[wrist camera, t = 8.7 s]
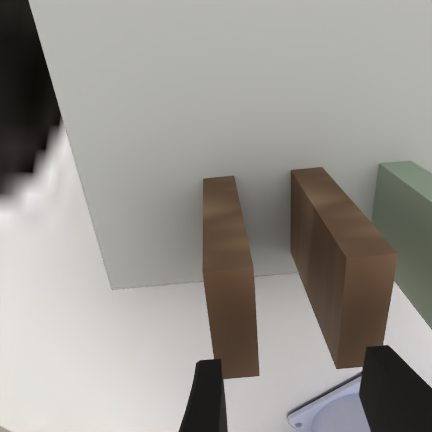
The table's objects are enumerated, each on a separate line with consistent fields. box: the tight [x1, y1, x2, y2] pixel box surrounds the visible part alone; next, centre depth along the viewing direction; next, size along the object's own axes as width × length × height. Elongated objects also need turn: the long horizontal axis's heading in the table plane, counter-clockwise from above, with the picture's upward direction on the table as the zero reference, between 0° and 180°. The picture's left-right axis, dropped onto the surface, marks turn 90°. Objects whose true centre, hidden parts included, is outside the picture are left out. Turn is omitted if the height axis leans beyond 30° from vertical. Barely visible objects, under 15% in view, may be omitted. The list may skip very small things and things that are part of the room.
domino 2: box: [290, 167, 398, 369], centre depth 16 cm, size 2×5×8 cm, turn 5°
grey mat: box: [29, 0, 432, 290], centre depth 18 cm, size 32×16×1 cm, turn 95°
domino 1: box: [202, 176, 259, 379], centre depth 16 cm, size 2×5×8 cm, turn 5°
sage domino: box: [371, 161, 432, 329], centre depth 16 cm, size 2×5×8 cm, turn 4°
